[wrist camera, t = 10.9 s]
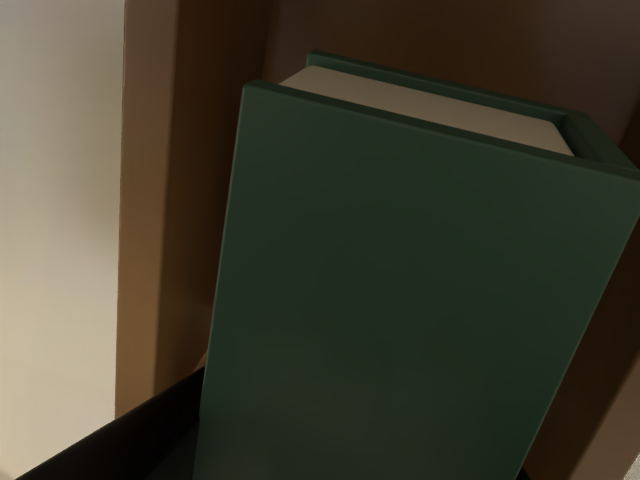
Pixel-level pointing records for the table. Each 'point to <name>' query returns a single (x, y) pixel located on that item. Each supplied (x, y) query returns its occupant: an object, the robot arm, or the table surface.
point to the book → (402, 275)
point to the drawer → (389, 50)
